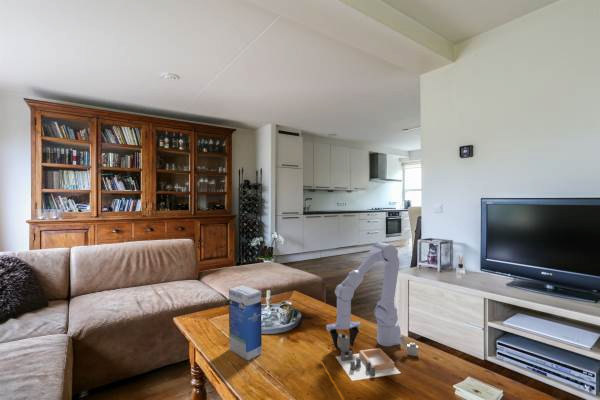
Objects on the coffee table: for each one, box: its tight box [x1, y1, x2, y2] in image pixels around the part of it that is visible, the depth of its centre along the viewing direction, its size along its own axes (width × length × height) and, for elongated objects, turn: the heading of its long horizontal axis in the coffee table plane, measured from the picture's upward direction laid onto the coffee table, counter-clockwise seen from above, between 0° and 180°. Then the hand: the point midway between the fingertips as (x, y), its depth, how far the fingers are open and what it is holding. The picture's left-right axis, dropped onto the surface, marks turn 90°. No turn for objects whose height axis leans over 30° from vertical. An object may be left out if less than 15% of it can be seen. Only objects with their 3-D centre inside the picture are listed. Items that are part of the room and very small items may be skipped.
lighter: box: [399, 334, 419, 357], centre depth 122 cm, size 7×2×8 cm, turn 72°
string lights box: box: [228, 284, 263, 361], centre depth 124 cm, size 13×8×26 cm, turn 47°
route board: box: [335, 350, 401, 382], centre depth 114 cm, size 19×16×4 cm
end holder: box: [358, 347, 395, 371], centre depth 116 cm, size 9×11×2 cm
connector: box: [337, 332, 350, 353], centre depth 125 cm, size 3×5×7 cm, turn 14°
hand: (343, 346), depth 125 cm, fingers open, 6 cm apart
